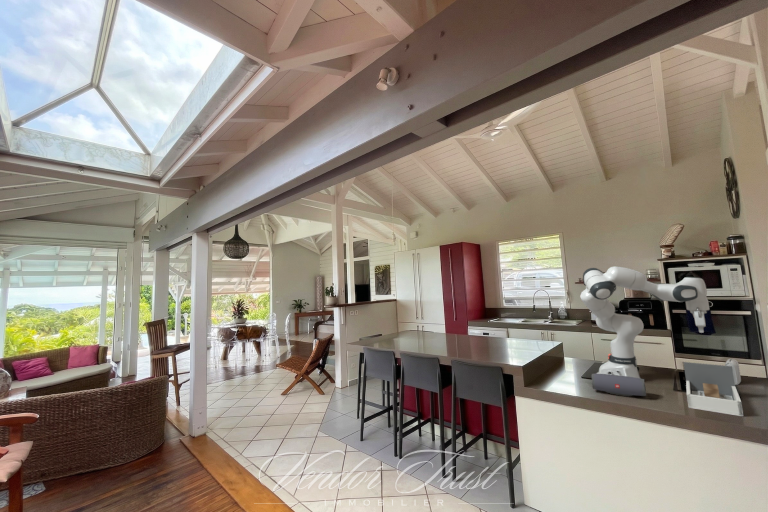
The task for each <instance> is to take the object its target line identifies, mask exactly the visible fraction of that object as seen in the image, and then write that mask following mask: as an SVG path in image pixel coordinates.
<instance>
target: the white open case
mask: <svg viewBox="0 0 768 512" xmlns="http://www.w3.org/2000/svg"><path fill="white" fill-rule="evenodd" d="M682 363H683V368H684V375H685V382H686V381H689V382H690V389H691V394H692V395H699V396H705V395H704V388H703V383H707V384H715V385H717V386H718V390H719V396H720V399H727V400H734V398H733V392H732V386H735V387H736V385H735V382H734V376H733V370H732V366H725V365H721V364H711V363H699V362H689V361H688V362H687V361H683V362H682Z"/></svg>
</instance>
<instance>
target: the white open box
mask: <svg viewBox="0 0 768 512" xmlns="http://www.w3.org/2000/svg"><path fill="white" fill-rule="evenodd" d="M685 382H686V383H685V384H686V386H685V387H686V400H687V405H688V408H689V409H696V410H702V411H708V412H713V413H720V414H725V415H733V416H738V417H745V416H744V410H743V404H742V400H741V398H740V395H739V391H738V390H737V387H736V385H735V386H732V392H733V400H727V399H720V398H713V397H706V396H699V395H692V392H691V389H690V382H689V381H686V380H685Z"/></svg>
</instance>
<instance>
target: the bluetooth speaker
mask: <svg viewBox="0 0 768 512" xmlns="http://www.w3.org/2000/svg"><path fill="white" fill-rule="evenodd" d="M591 385H592V389H593V390H595V391H600V392H606V393H607V394H608V393H610V394H609V395H613V394H616V396H620V395H623V397H629V396H631V397H632V396H641V397H647V390H646V383H645V378H641V377H640V378H635V377H628V376H620V375H610V374H596V373H591Z"/></svg>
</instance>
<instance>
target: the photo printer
mask: <svg viewBox="0 0 768 512" xmlns="http://www.w3.org/2000/svg"><path fill="white" fill-rule="evenodd" d="M724 366H732V370H733V376H734V382H735V386H737V385H739V384H740V383H741V382H742V378H741V376H742V375H741V372H740V365H739V362H738V360H736V359H735V358H728V359H727V360H726V361H725V362H724Z"/></svg>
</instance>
